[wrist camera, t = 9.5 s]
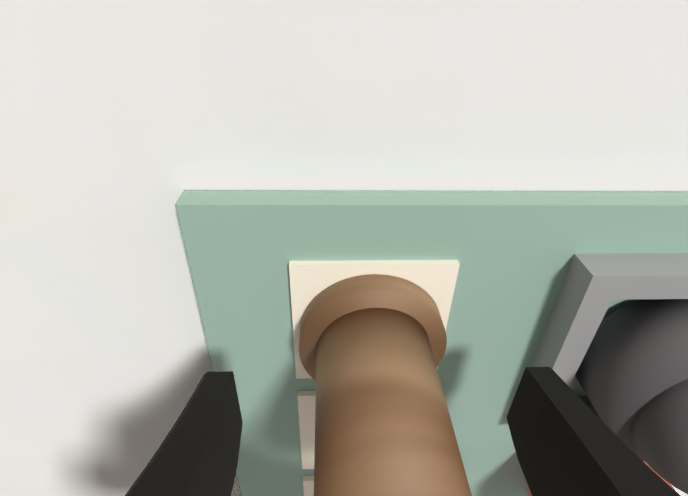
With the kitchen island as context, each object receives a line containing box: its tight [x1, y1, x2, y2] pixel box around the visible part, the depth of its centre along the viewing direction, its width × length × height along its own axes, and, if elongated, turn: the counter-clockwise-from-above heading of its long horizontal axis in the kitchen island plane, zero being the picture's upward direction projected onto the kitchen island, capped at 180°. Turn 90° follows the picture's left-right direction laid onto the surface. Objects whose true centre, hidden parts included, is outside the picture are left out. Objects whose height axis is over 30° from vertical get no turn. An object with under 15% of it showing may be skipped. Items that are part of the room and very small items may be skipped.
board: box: [175, 190, 688, 496], centre depth 16 cm, size 18×18×2 cm
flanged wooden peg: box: [299, 274, 472, 496], centre depth 10 cm, size 4×4×6 cm
